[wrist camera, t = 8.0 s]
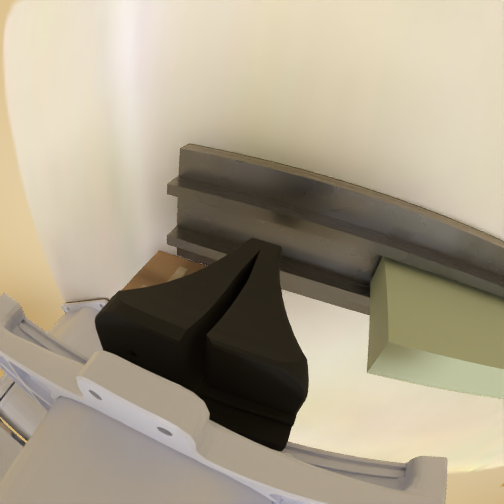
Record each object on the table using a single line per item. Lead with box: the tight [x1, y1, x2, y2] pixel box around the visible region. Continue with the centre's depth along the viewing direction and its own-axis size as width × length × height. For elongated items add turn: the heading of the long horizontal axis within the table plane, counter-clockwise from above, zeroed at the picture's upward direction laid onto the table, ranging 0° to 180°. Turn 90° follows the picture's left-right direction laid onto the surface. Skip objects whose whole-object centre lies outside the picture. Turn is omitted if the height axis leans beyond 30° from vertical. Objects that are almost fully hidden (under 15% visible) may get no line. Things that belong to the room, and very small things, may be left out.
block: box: [122, 251, 207, 290], centre depth 20 cm, size 5×5×5 cm
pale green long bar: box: [367, 256, 504, 399], centre depth 12 cm, size 14×2×6 cm, turn 81°
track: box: [167, 144, 504, 315], centre depth 15 cm, size 26×7×2 cm, turn 81°
